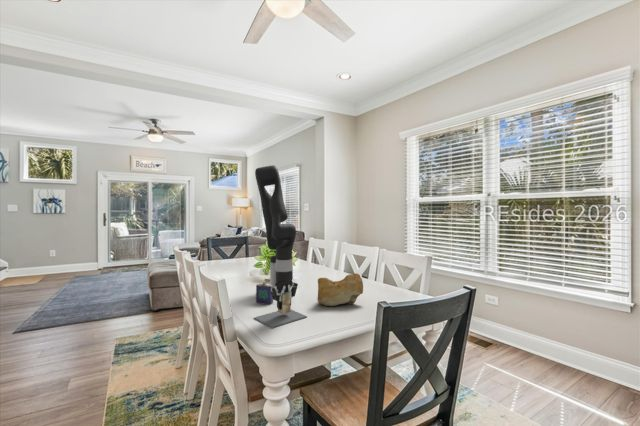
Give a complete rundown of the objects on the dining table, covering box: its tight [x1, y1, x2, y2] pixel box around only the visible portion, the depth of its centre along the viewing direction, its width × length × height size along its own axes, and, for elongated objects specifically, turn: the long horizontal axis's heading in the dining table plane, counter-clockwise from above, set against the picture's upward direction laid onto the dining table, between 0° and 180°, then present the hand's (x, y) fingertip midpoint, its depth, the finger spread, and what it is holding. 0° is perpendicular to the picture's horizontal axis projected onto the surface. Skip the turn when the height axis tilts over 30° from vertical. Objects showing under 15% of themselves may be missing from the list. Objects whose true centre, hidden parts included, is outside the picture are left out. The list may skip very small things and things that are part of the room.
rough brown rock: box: [317, 273, 364, 307], centre depth 157 cm, size 23×17×15 cm
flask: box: [255, 281, 274, 305], centre depth 155 cm, size 9×3×11 cm, turn 74°
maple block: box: [277, 292, 292, 314], centre depth 135 cm, size 4×4×9 cm
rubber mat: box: [253, 309, 308, 329], centre depth 134 cm, size 18×14×1 cm
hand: (284, 307), depth 135 cm, fingers closed on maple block, 4 cm apart
